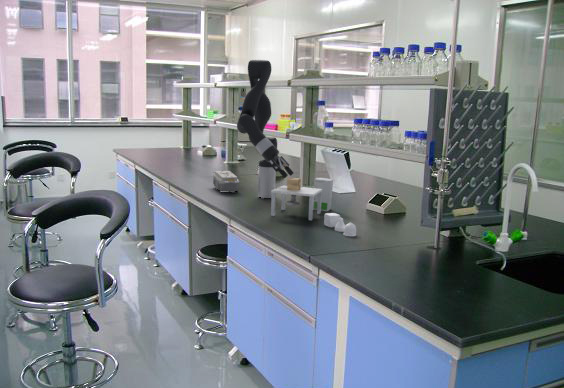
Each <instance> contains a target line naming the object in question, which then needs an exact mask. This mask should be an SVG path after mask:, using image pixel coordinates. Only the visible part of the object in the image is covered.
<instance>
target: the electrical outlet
mask: <svg viewBox="0 0 564 388" xmlns="http://www.w3.org/2000/svg"><path fill="white" fill-rule="evenodd" d="M212 173H214V174H213V175H212V177H213V179H212V180H213V181H212V183H213V186H214V187H215V189H216V190H217V189H218V190H220V191H238V192H239V183H240V180H239V179H238V176H237V175H236V174H234V173H233V172H232V171H230V170H215V171H212ZM218 190H217V191H218ZM220 191H219V192H220Z"/></svg>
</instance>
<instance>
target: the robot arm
mask: <svg viewBox="0 0 564 388" xmlns="http://www.w3.org/2000/svg"><path fill="white" fill-rule="evenodd" d="M271 73H272V64H271V62H270V60H267V59H250V60H249V61H248V63H247V74H248V81H249V85H250V90H249V91H248V92H247V93H246V95H245V96H244V99H243V102H242V107H241V112H240V114H239V117H238V120H237V123H236V128H237V130H238V132H239V133H240V134H247V135H248V140H249V142H250V143H251V144H252V146H254V147H255V149H256V152H257V153H259V154H260V156H261V157H263V159H260V160H259V161H258V188H257V189H258V190H257V198H259V197H261V198H260V199H264V198H271V196H272V193H271V190H274V189H276V176H277V175H276V173H279V174H280V175H281V177H283V179H286V178H287V177H288V176H290V177H291V176H292V175H294V171H293V170H292V169H291V168H290V164H289V162H288V161H287V160H286V159H285V158H284V156H281V155H280V156H279V153H280V151H279V150H278V139H277V137H274V136H266V135H265V134H264V130H265V127H266V125H267V124H268V122H269V120H270V119H271V117H272V104H271V101H270V99H269V97H268V96H267V94H266V93H265V91H264V90H265V88H266V86H267V83H268V82H269V79H270V76H271Z"/></svg>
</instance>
